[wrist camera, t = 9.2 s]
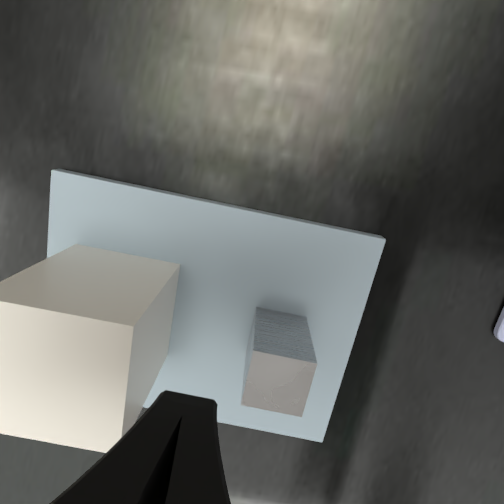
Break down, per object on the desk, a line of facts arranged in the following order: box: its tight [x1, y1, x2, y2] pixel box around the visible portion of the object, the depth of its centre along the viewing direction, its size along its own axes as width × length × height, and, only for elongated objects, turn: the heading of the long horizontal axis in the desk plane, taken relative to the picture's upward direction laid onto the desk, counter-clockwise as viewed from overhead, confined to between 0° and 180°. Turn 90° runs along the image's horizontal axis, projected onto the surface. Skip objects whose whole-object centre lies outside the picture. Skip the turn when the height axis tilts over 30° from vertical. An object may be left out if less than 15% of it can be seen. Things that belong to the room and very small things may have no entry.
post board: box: [47, 169, 386, 442], centre depth 19 cm, size 16×12×1 cm
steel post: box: [241, 307, 317, 417], centre depth 17 cm, size 3×3×5 cm
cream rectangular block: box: [0, 244, 180, 453], centre depth 16 cm, size 5×5×7 cm
